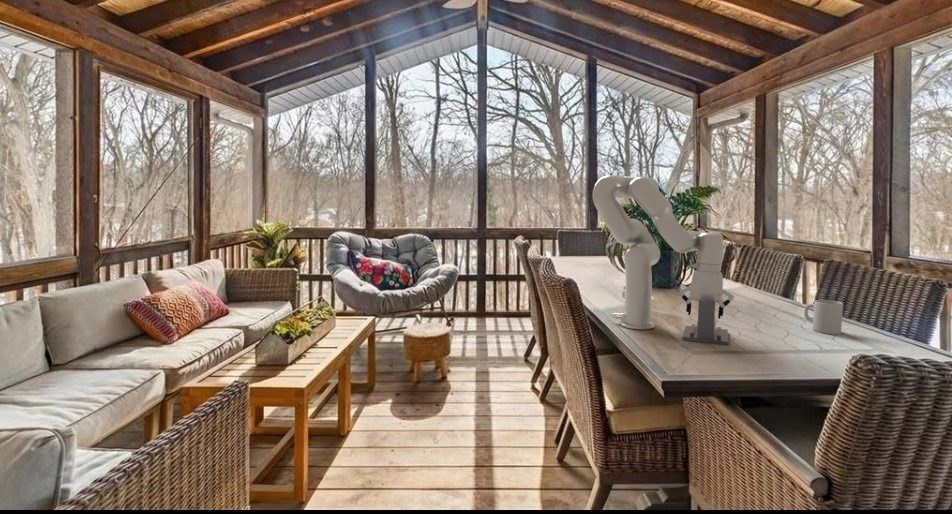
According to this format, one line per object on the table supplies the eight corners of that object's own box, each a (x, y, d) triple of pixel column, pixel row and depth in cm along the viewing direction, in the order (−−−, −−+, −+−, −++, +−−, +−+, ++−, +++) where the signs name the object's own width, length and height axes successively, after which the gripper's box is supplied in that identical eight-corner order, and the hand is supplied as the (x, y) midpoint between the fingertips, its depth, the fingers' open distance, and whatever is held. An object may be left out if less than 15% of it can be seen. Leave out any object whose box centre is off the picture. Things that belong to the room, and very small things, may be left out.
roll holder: (682, 340, 171) (684, 299, 169) (685, 328, 186) (687, 291, 184) (728, 345, 164) (730, 303, 163) (727, 332, 180) (729, 294, 178)
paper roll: (714, 338, 168) (716, 321, 168) (695, 336, 171) (696, 319, 170) (715, 330, 179) (716, 313, 178) (697, 328, 182) (698, 312, 181)
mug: (845, 332, 180) (847, 302, 178) (834, 336, 175) (836, 305, 174) (809, 325, 190) (811, 297, 188) (797, 328, 185) (799, 299, 184)
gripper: (680, 267, 173) (676, 315, 175) (736, 272, 165) (731, 321, 168) (682, 264, 180) (678, 310, 182) (736, 269, 172) (731, 316, 174)
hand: (704, 315), depth 175 cm, fingers open, 9 cm apart
